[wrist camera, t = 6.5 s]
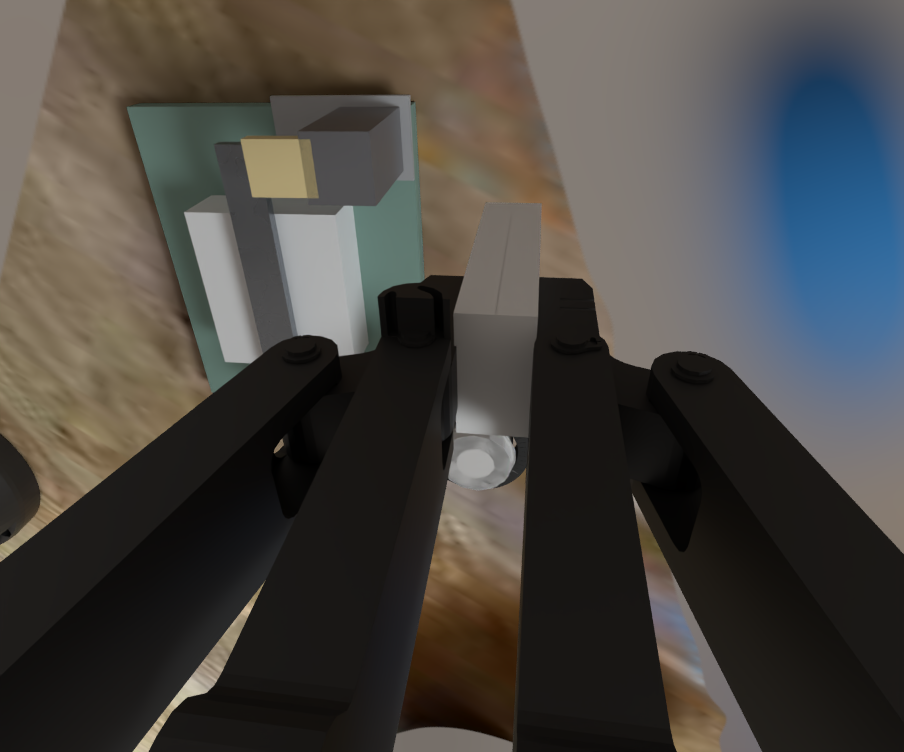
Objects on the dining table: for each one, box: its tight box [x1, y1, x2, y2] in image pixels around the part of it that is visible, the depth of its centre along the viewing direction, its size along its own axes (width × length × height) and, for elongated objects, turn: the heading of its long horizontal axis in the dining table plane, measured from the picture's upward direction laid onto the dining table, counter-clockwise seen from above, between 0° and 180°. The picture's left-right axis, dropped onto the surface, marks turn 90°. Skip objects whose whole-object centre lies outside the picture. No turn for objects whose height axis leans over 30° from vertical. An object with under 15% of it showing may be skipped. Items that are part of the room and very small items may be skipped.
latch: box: [240, 107, 404, 206], centre depth 27 cm, size 6×3×6 cm, turn 91°
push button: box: [448, 418, 528, 490], centre depth 33 cm, size 7×5×10 cm
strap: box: [214, 142, 298, 353], centre depth 31 cm, size 3×16×1 cm, turn 1°
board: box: [127, 95, 424, 392], centre depth 34 cm, size 15×18×4 cm
